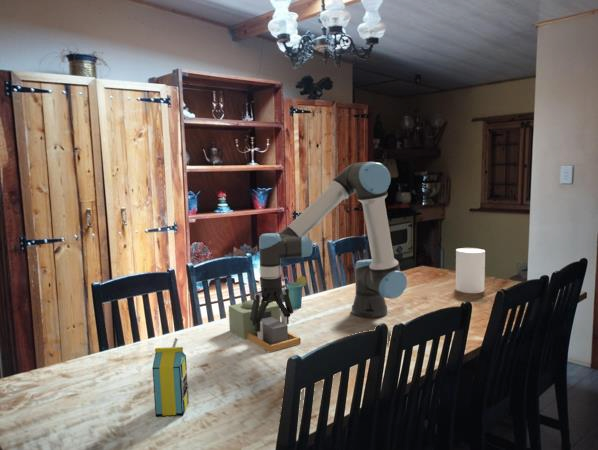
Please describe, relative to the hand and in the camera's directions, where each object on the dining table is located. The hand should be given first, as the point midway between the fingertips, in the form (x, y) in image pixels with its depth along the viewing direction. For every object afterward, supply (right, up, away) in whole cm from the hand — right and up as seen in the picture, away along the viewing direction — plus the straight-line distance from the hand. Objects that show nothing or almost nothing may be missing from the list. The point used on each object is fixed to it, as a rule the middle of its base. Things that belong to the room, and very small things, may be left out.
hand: (272, 336), depth 168 cm
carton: (-24, -8, -46) cm, 53 cm away
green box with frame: (-3, -1, +5) cm, 6 cm away
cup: (+7, +3, +39) cm, 40 cm away
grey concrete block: (0, -2, 0) cm, 2 cm away
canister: (+95, +8, +62) cm, 114 cm away
